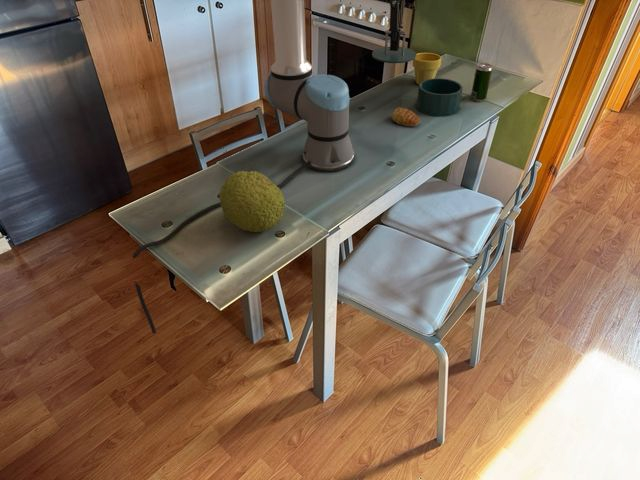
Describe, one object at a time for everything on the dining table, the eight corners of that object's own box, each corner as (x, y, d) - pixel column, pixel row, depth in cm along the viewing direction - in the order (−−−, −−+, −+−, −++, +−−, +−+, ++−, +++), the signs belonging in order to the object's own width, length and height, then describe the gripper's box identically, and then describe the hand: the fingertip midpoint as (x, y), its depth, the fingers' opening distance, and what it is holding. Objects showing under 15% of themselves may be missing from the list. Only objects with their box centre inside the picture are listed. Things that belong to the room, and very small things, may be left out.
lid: (411, 67, 156) (414, 39, 150) (366, 62, 160) (367, 35, 155) (419, 51, 167) (422, 25, 161) (378, 48, 171) (379, 22, 166)
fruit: (298, 212, 119) (295, 184, 105) (262, 254, 115) (254, 231, 101) (250, 177, 123) (241, 146, 109) (213, 217, 119) (198, 189, 105)
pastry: (423, 123, 155) (425, 112, 153) (411, 130, 152) (412, 119, 149) (401, 114, 160) (402, 104, 158) (388, 121, 157) (389, 110, 154)
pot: (455, 118, 157) (459, 97, 152) (413, 113, 161) (415, 92, 156) (461, 101, 168) (464, 80, 163) (421, 96, 172) (423, 76, 167)
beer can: (479, 103, 166) (486, 69, 158) (467, 98, 169) (473, 65, 162) (489, 99, 168) (496, 65, 161) (477, 94, 172) (483, 61, 164)
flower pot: (422, 75, 187) (425, 50, 181) (443, 82, 181) (447, 56, 175) (405, 82, 182) (407, 56, 176) (425, 89, 176) (428, 63, 170)
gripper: (407, -22, 141) (400, 57, 156) (416, -32, 151) (409, 44, 166) (382, -24, 143) (378, 55, 158) (393, -33, 153) (388, 42, 168)
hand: (394, 49), depth 162 cm, fingers closed on lid
